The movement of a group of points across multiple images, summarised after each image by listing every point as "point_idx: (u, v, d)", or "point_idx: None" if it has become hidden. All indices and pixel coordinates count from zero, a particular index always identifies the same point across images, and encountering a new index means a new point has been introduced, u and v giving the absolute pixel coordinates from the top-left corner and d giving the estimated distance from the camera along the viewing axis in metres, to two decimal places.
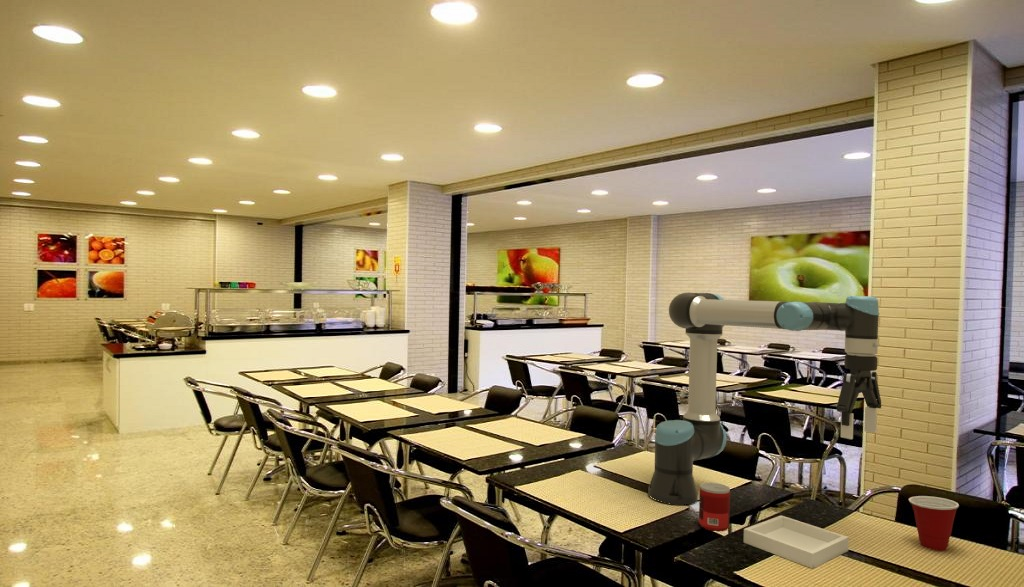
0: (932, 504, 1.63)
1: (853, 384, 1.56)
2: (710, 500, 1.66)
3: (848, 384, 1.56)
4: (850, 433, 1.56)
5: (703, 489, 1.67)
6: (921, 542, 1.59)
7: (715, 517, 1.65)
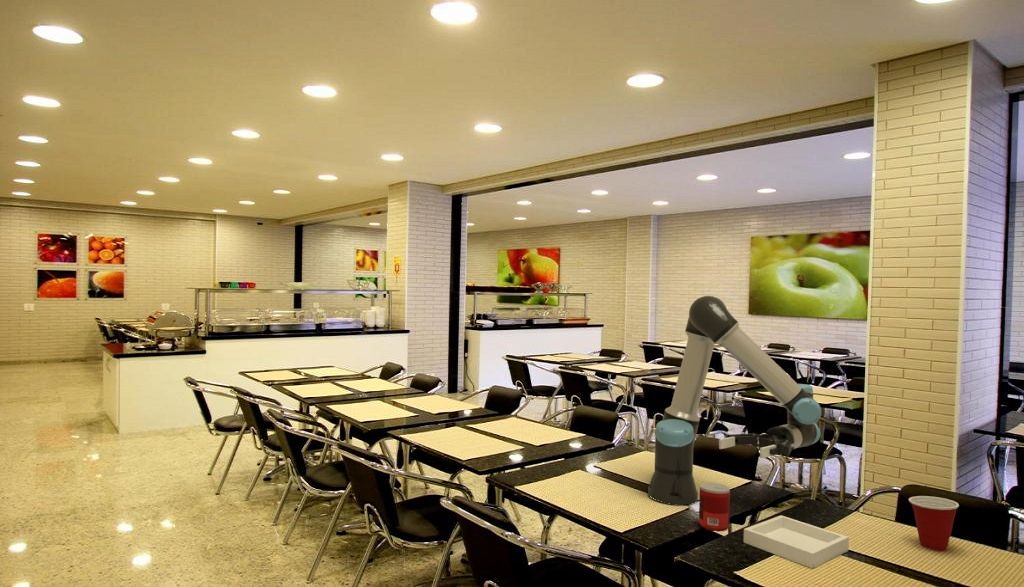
0: (932, 504, 1.63)
1: None
2: (710, 500, 1.66)
3: (791, 447, 1.77)
4: (765, 456, 1.71)
5: (703, 489, 1.67)
6: (921, 542, 1.59)
7: (715, 517, 1.65)
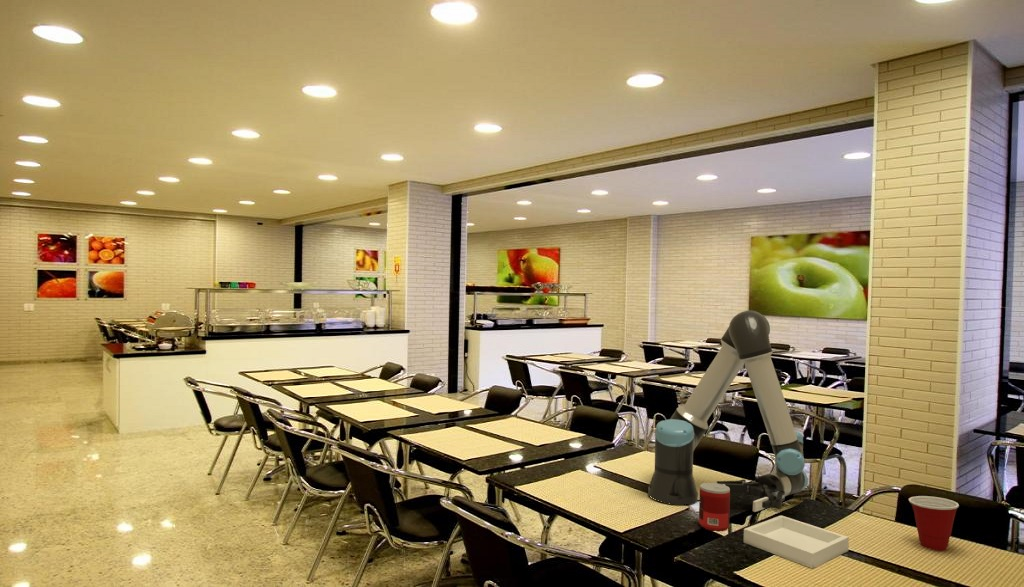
0: (932, 504, 1.63)
1: None
2: (710, 500, 1.66)
3: (782, 498, 1.75)
4: (758, 510, 1.68)
5: (703, 489, 1.67)
6: (921, 542, 1.59)
7: (715, 517, 1.65)
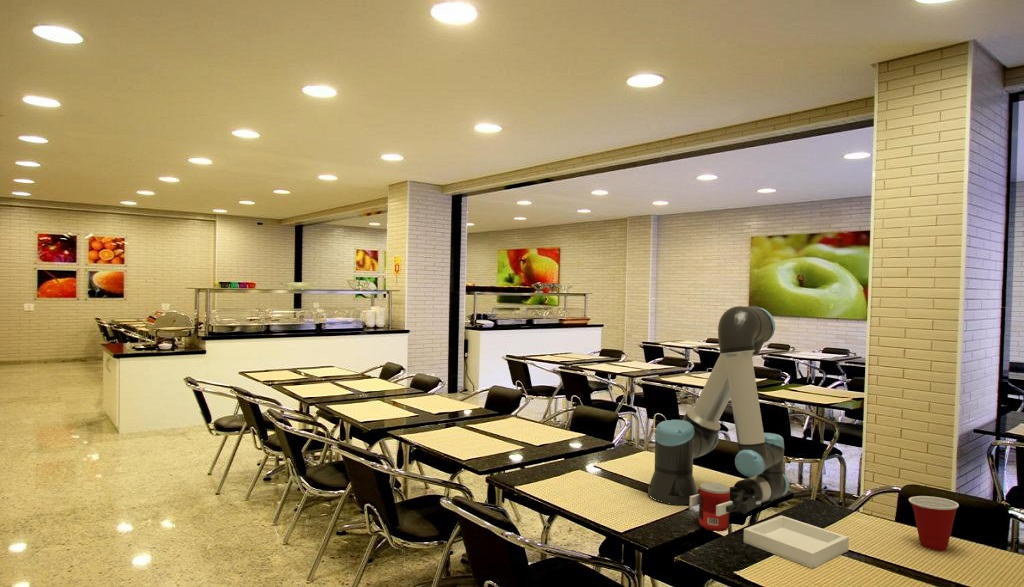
0: (932, 504, 1.63)
1: None
2: (710, 500, 1.66)
3: (755, 504, 1.69)
4: (721, 514, 1.63)
5: (703, 489, 1.67)
6: (921, 542, 1.59)
7: (715, 517, 1.65)
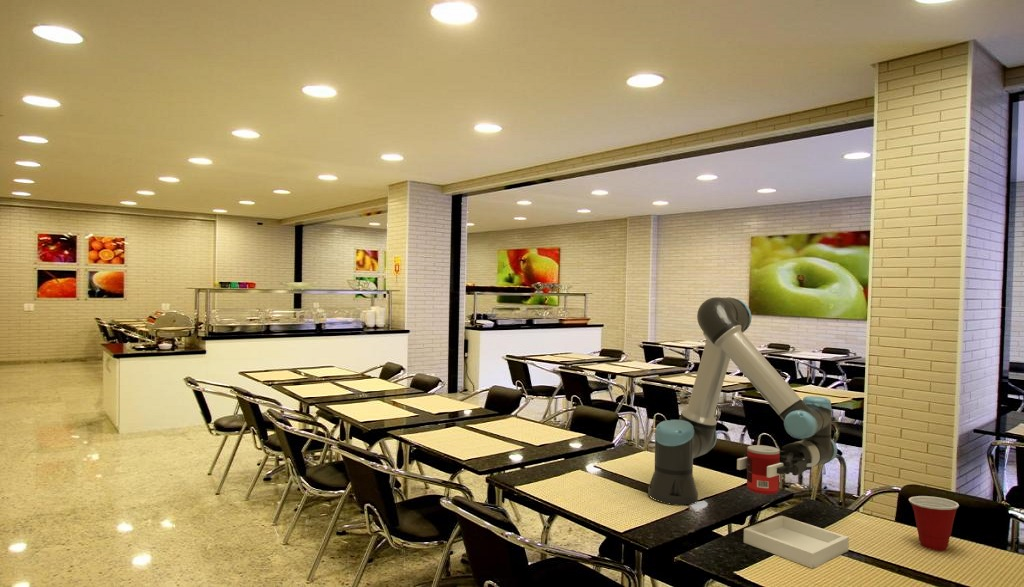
0: (932, 504, 1.63)
1: None
2: (759, 462, 1.58)
3: (806, 466, 1.61)
4: (772, 476, 1.55)
5: (751, 451, 1.60)
6: (921, 542, 1.59)
7: (765, 479, 1.57)
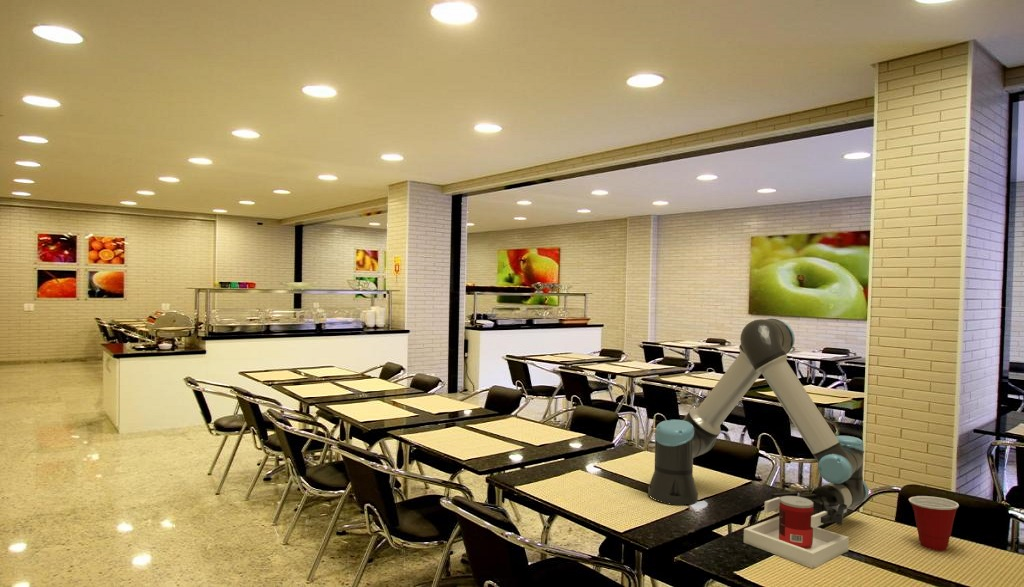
0: (932, 504, 1.63)
1: None
2: (793, 515, 1.53)
3: (843, 513, 1.57)
4: (816, 525, 1.50)
5: (785, 503, 1.55)
6: (921, 542, 1.59)
7: (799, 533, 1.53)
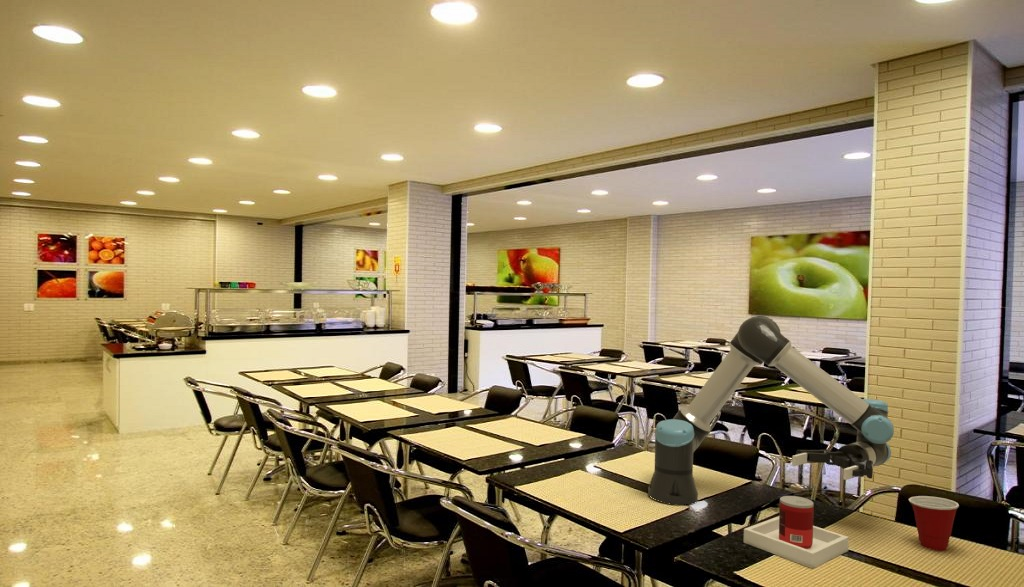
0: (932, 504, 1.63)
1: None
2: (793, 515, 1.53)
3: None
4: (848, 478, 1.57)
5: (785, 503, 1.55)
6: (921, 542, 1.59)
7: (799, 533, 1.53)
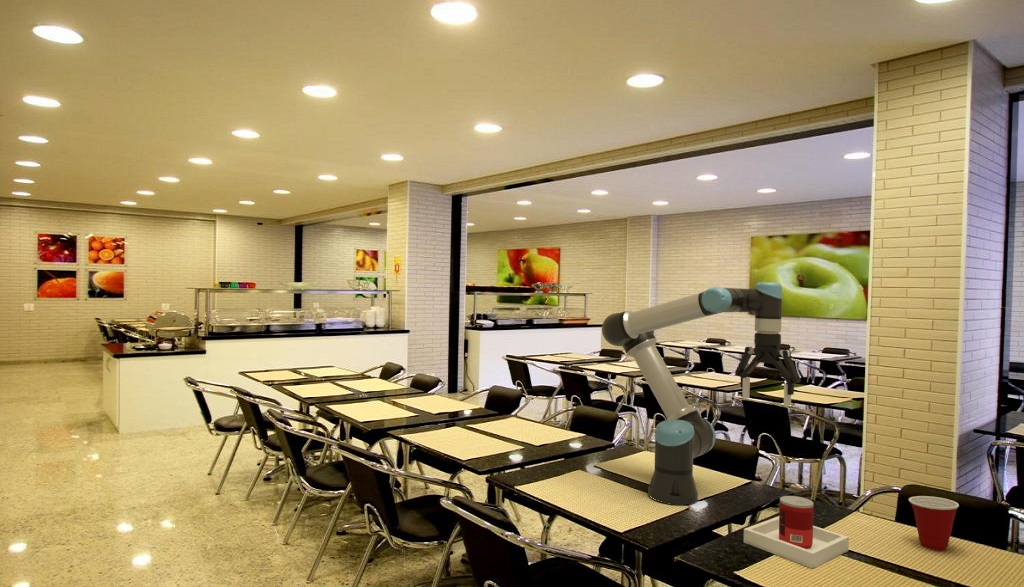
0: (932, 504, 1.63)
1: None
2: (793, 515, 1.53)
3: (790, 359, 1.82)
4: (790, 400, 1.82)
5: (785, 503, 1.55)
6: (921, 542, 1.59)
7: (799, 533, 1.53)
